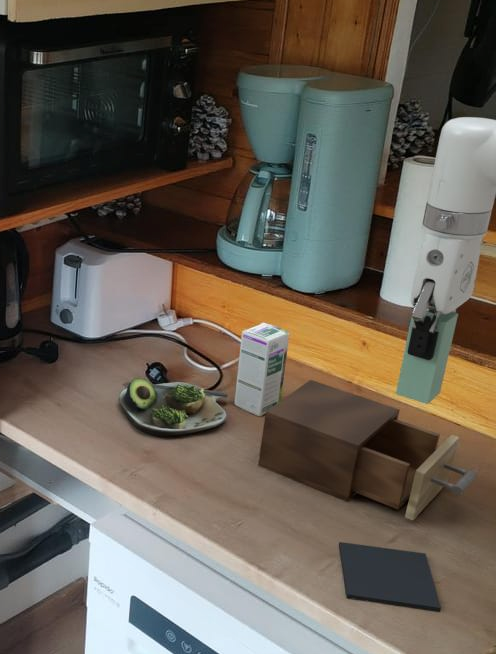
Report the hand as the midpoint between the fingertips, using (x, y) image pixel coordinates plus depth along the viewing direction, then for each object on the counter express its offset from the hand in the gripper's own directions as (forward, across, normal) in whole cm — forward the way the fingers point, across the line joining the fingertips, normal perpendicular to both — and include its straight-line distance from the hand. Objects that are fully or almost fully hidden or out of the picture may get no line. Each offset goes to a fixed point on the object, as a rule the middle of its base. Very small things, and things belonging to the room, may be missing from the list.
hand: (427, 349), depth 122 cm
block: (+7, 0, 0) cm, 7 cm away
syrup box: (+24, +11, +29) cm, 40 cm away
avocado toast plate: (+24, -2, +39) cm, 46 cm away
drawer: (+23, +2, 0) cm, 23 cm away
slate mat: (+24, -18, -6) cm, 31 cm away
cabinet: (+24, +2, +12) cm, 27 cm away
